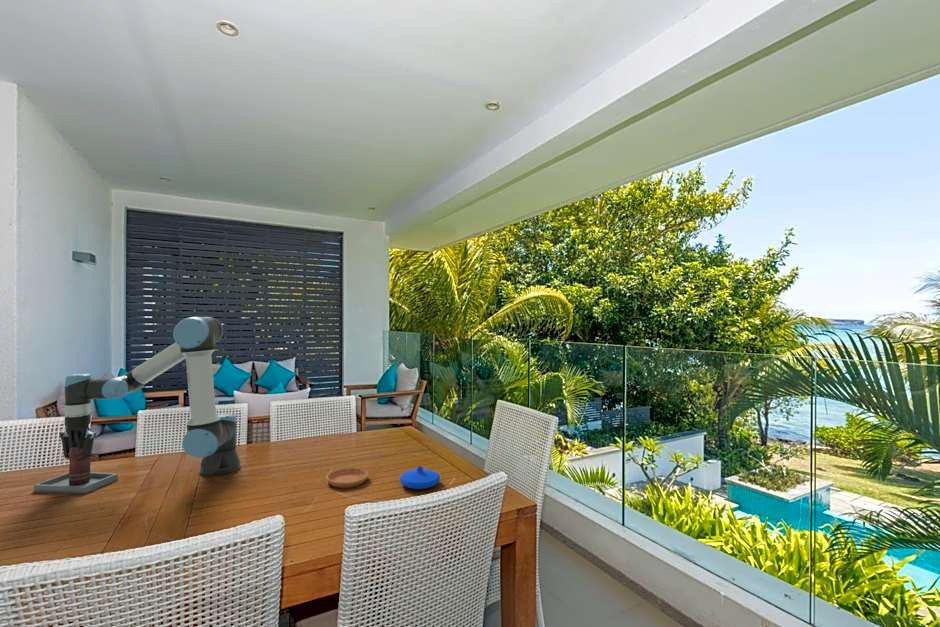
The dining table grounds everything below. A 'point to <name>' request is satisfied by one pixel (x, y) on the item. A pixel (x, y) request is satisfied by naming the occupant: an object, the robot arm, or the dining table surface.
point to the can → (78, 467)
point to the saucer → (347, 477)
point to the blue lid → (419, 478)
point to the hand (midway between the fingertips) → (77, 476)
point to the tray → (63, 486)
